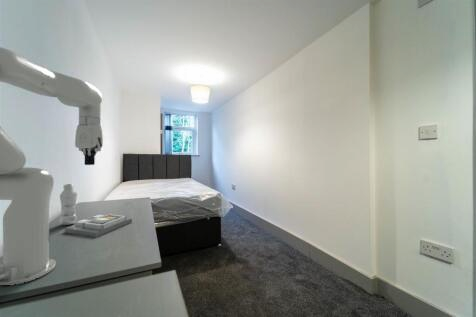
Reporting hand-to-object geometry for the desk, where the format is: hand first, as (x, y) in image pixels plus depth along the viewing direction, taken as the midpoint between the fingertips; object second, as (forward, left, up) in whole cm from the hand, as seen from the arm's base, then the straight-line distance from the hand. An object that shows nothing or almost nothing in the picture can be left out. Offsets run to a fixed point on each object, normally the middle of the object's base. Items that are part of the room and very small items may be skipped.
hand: (89, 164), depth 87 cm
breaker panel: (+10, +5, -31) cm, 33 cm away
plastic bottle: (+8, +23, -31) cm, 40 cm away
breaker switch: (+10, +2, -27) cm, 29 cm away
